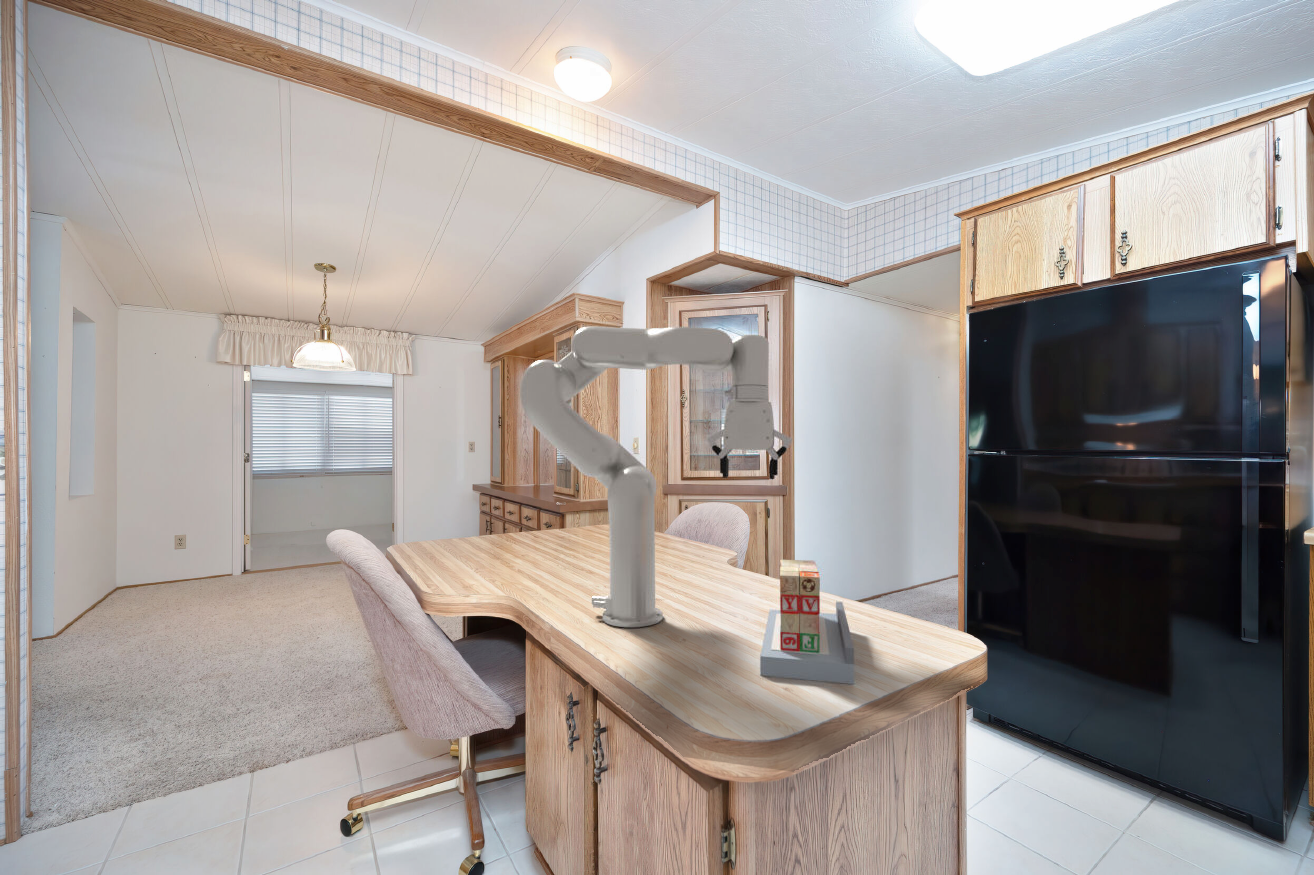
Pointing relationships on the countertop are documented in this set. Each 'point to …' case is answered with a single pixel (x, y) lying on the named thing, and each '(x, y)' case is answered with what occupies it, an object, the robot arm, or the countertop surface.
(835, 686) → the countertop surface
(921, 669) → the countertop surface
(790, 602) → the stack of blocks
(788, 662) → the tray
